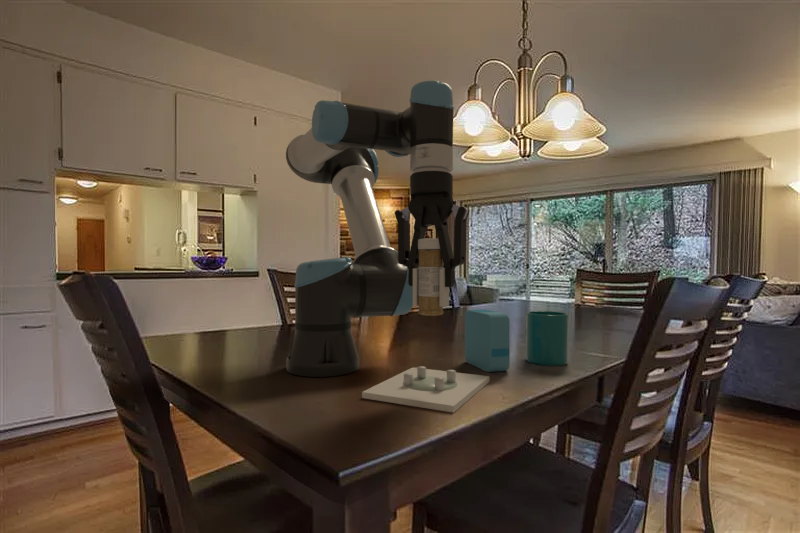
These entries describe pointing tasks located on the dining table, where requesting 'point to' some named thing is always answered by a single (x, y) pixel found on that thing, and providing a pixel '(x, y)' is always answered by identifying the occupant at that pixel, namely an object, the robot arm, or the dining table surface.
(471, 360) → the data package
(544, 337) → the cup
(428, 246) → the sprinkles bottle
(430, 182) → the robot arm
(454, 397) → the pin tray
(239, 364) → the dining table surface
